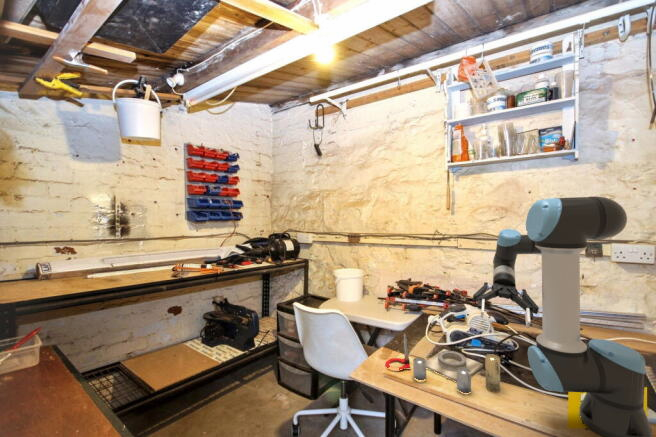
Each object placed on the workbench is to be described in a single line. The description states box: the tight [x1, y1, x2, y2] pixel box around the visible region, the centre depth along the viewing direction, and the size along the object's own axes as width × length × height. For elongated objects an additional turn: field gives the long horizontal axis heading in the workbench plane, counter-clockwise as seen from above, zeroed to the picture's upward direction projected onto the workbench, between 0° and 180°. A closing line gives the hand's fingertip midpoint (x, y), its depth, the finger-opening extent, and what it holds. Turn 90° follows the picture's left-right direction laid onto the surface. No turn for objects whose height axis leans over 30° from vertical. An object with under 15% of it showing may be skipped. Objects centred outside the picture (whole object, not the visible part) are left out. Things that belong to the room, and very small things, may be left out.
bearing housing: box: [426, 348, 484, 383], centre depth 123 cm, size 16×16×4 cm
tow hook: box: [384, 333, 412, 370], centre depth 125 cm, size 8×13×9 cm
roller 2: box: [456, 367, 472, 393], centre depth 109 cm, size 4×4×7 cm
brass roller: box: [484, 353, 501, 393], centre depth 109 cm, size 4×4×11 cm
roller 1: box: [412, 356, 427, 380], centre depth 116 cm, size 4×4×7 cm
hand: (504, 319), depth 107 cm, fingers open, 13 cm apart
